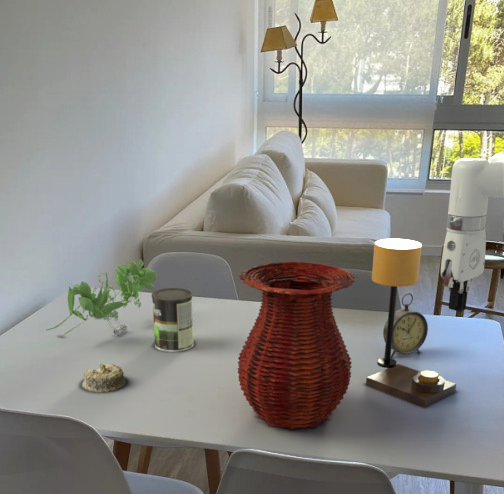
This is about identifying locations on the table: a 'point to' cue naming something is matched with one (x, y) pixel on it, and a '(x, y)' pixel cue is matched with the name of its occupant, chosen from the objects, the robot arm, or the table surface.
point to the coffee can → (173, 319)
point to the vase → (295, 345)
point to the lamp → (395, 278)
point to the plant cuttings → (96, 304)
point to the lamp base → (410, 385)
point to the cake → (104, 379)
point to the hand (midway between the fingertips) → (456, 309)
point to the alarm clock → (407, 330)
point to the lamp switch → (428, 377)
